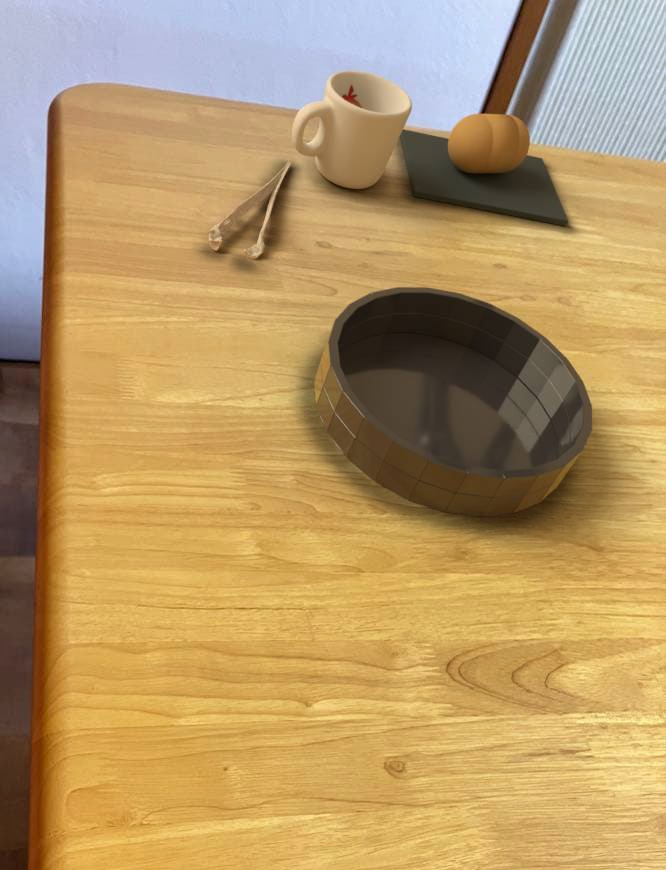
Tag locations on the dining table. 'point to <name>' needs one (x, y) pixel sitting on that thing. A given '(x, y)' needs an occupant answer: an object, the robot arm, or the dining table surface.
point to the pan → (451, 401)
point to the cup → (354, 127)
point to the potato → (488, 143)
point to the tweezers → (243, 208)
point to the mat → (480, 182)
